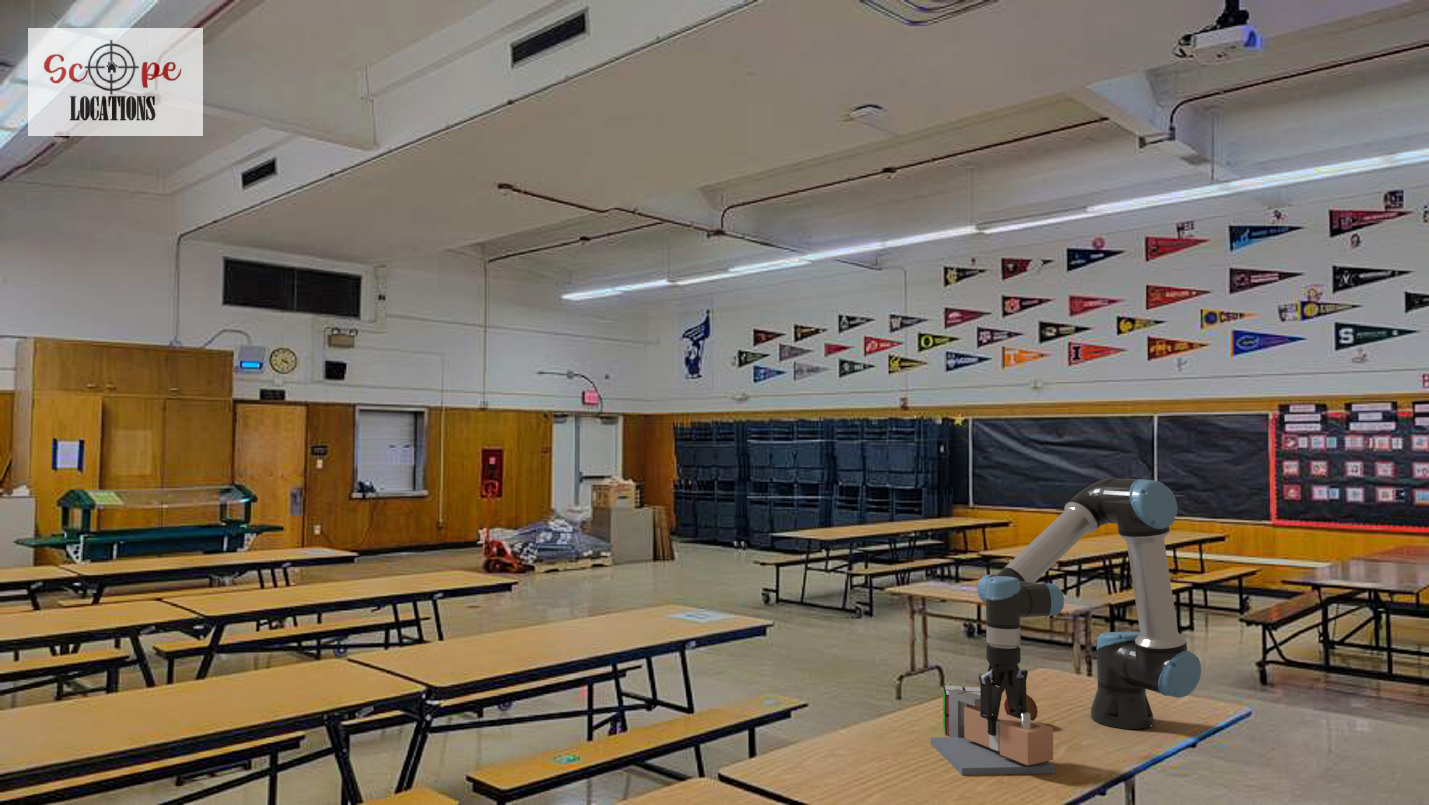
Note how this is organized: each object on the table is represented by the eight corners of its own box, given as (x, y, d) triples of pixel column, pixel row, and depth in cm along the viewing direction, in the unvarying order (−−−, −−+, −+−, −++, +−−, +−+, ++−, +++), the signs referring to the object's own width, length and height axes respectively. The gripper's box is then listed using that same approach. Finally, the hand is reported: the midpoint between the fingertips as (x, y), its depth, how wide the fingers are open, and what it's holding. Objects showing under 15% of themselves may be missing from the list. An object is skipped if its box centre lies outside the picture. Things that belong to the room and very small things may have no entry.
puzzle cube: (987, 739, 221) (986, 697, 222) (945, 736, 223) (945, 695, 224) (983, 727, 231) (983, 687, 232) (943, 724, 233) (943, 684, 234)
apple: (1023, 718, 239) (1023, 687, 239) (1043, 727, 231) (1043, 695, 231) (998, 720, 236) (998, 689, 237) (1018, 730, 229) (1018, 698, 229)
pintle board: (1014, 742, 219) (1014, 736, 219) (1054, 773, 198) (1054, 766, 198) (930, 743, 217) (930, 737, 217) (962, 775, 196) (962, 768, 196)
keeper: (959, 738, 221) (959, 688, 222) (987, 749, 213) (986, 697, 214) (947, 740, 219) (947, 690, 220) (974, 751, 212) (974, 699, 212)
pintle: (1028, 766, 202) (1028, 712, 202) (1032, 769, 200) (1031, 714, 200) (1019, 766, 202) (1019, 712, 202) (1023, 769, 200) (1023, 714, 200)
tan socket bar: (959, 738, 213) (959, 708, 214) (984, 734, 217) (984, 704, 218) (1027, 765, 195) (1027, 732, 196) (1053, 759, 199) (1052, 727, 200)
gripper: (1018, 638, 215) (1019, 737, 214) (962, 645, 207) (963, 748, 205) (1043, 644, 209) (1044, 746, 208) (987, 652, 200) (987, 758, 199)
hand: (1003, 747), depth 207 cm, fingers closed on tan socket bar, 5 cm apart
